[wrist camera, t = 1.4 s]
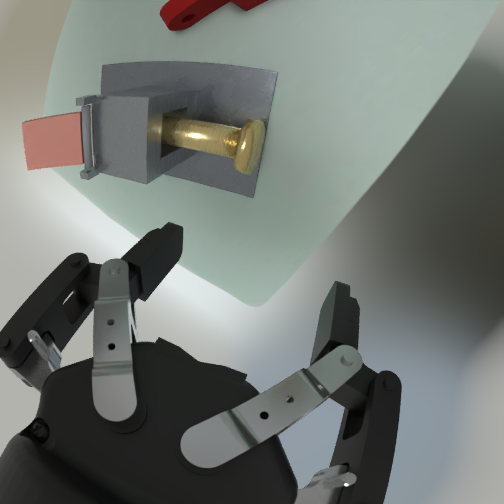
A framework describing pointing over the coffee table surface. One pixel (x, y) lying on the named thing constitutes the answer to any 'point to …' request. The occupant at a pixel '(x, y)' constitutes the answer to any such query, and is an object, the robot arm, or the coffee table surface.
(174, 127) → the brass pin
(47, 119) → the latch flap
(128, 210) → the coffee table surface
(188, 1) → the mechanical linkage
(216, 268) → the coffee table surface
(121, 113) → the latch base plate
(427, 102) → the coffee table surface
